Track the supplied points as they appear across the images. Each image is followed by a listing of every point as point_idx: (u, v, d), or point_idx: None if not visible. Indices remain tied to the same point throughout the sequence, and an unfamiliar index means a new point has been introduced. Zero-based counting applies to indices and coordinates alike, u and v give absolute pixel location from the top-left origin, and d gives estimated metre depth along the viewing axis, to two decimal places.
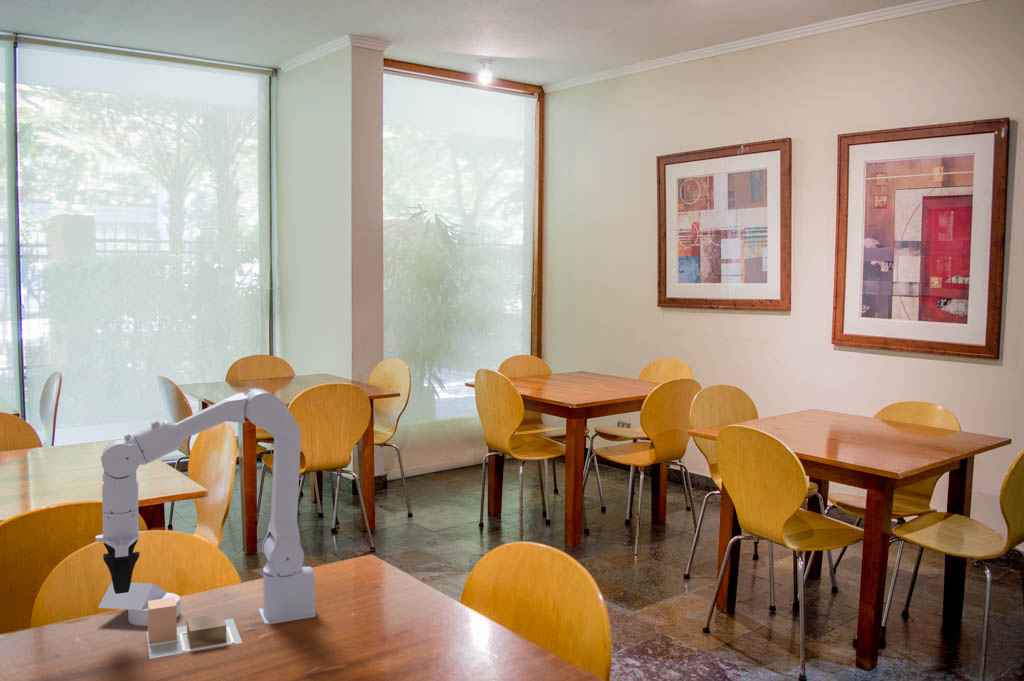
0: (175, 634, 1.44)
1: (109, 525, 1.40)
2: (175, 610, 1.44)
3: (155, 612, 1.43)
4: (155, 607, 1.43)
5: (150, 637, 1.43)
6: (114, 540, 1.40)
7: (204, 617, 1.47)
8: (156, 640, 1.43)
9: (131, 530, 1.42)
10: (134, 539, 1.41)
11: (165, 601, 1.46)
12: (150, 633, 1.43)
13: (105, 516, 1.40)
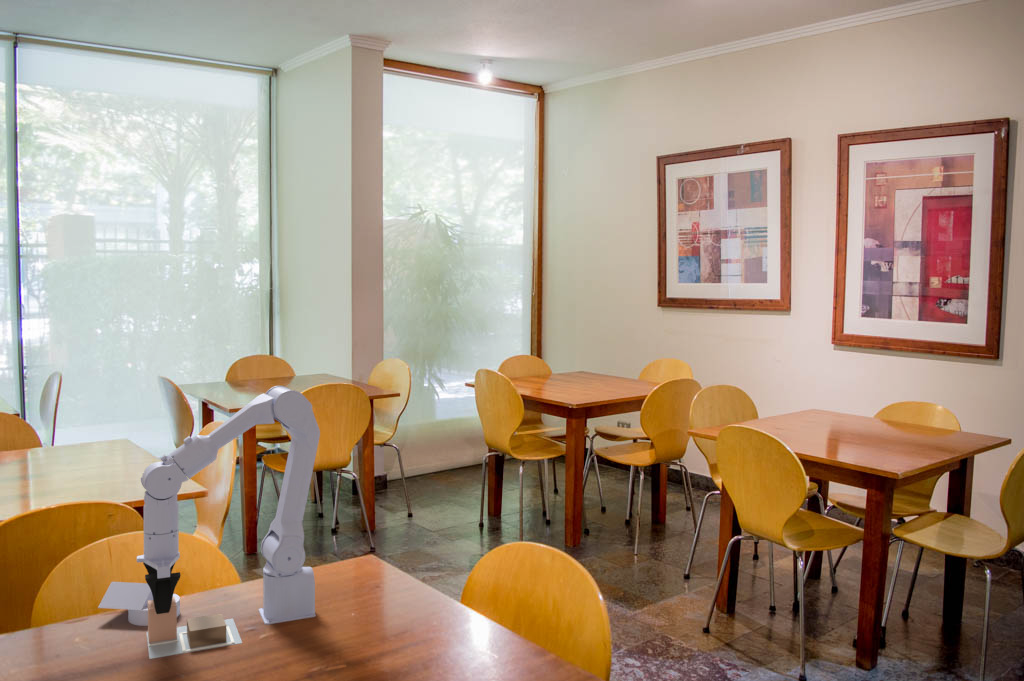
0: (175, 634, 1.44)
1: (150, 546, 1.42)
2: (175, 610, 1.44)
3: (155, 612, 1.43)
4: None
5: (150, 637, 1.43)
6: (155, 561, 1.42)
7: (204, 617, 1.47)
8: (156, 640, 1.43)
9: (172, 551, 1.43)
10: (175, 560, 1.43)
11: None
12: (150, 633, 1.43)
13: (146, 537, 1.42)
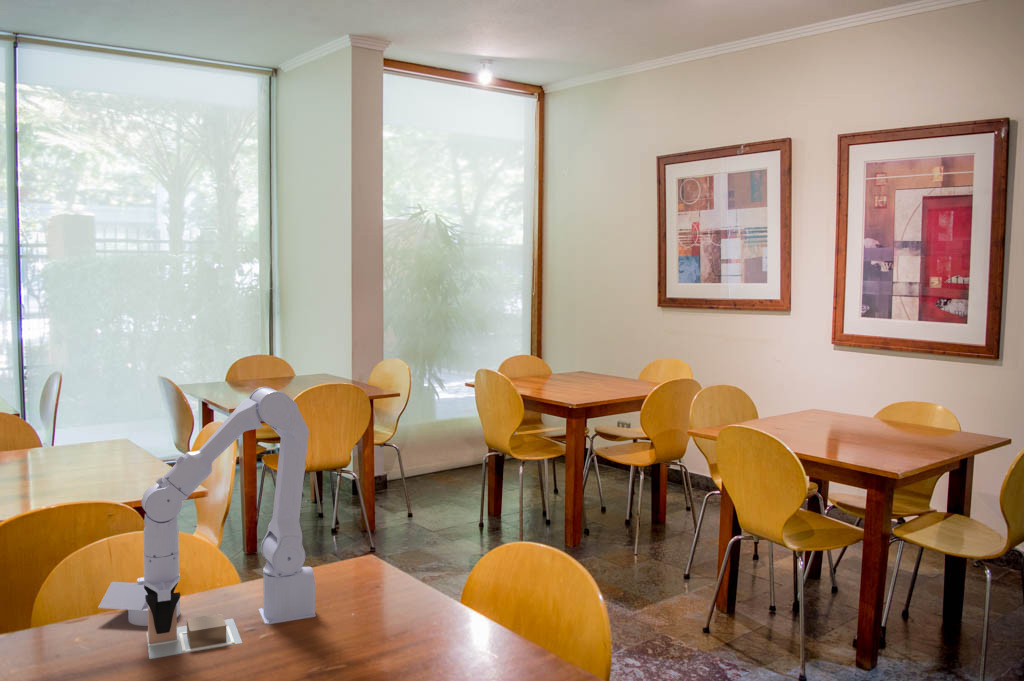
0: (175, 634, 1.44)
1: (150, 569, 1.42)
2: (175, 610, 1.44)
3: None
4: None
5: (150, 637, 1.43)
6: (156, 583, 1.42)
7: (204, 617, 1.47)
8: (156, 640, 1.43)
9: (172, 573, 1.44)
10: (175, 582, 1.43)
11: None
12: (150, 633, 1.43)
13: (147, 560, 1.42)
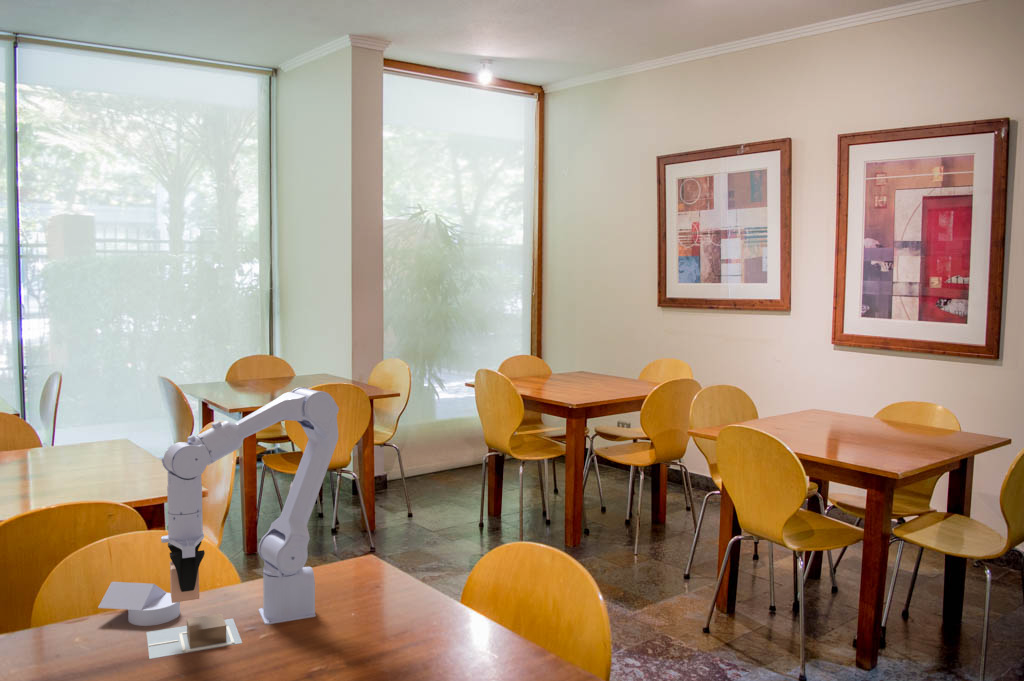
0: (198, 594, 1.43)
1: (174, 526, 1.41)
2: None
3: None
4: None
5: (173, 597, 1.42)
6: (180, 541, 1.41)
7: (204, 617, 1.47)
8: (179, 600, 1.42)
9: (196, 531, 1.43)
10: (199, 540, 1.42)
11: None
12: (173, 593, 1.42)
13: (171, 517, 1.42)
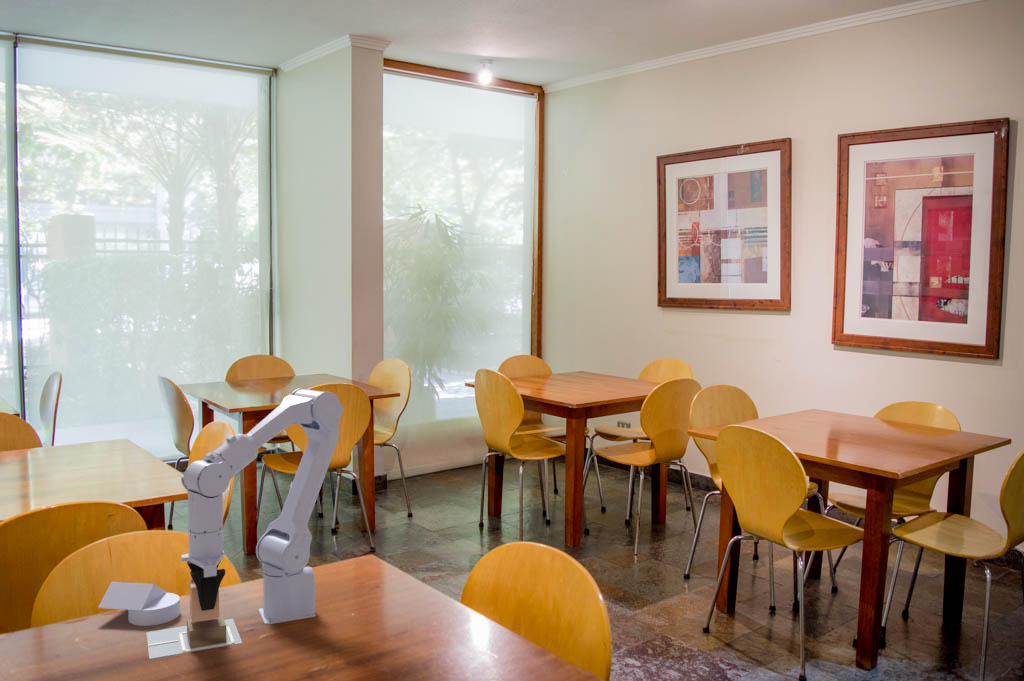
0: (217, 613, 1.43)
1: (195, 545, 1.41)
2: None
3: None
4: None
5: (193, 616, 1.41)
6: (201, 560, 1.41)
7: None
8: (199, 619, 1.42)
9: (217, 549, 1.42)
10: (220, 558, 1.42)
11: None
12: (193, 612, 1.41)
13: (192, 536, 1.41)
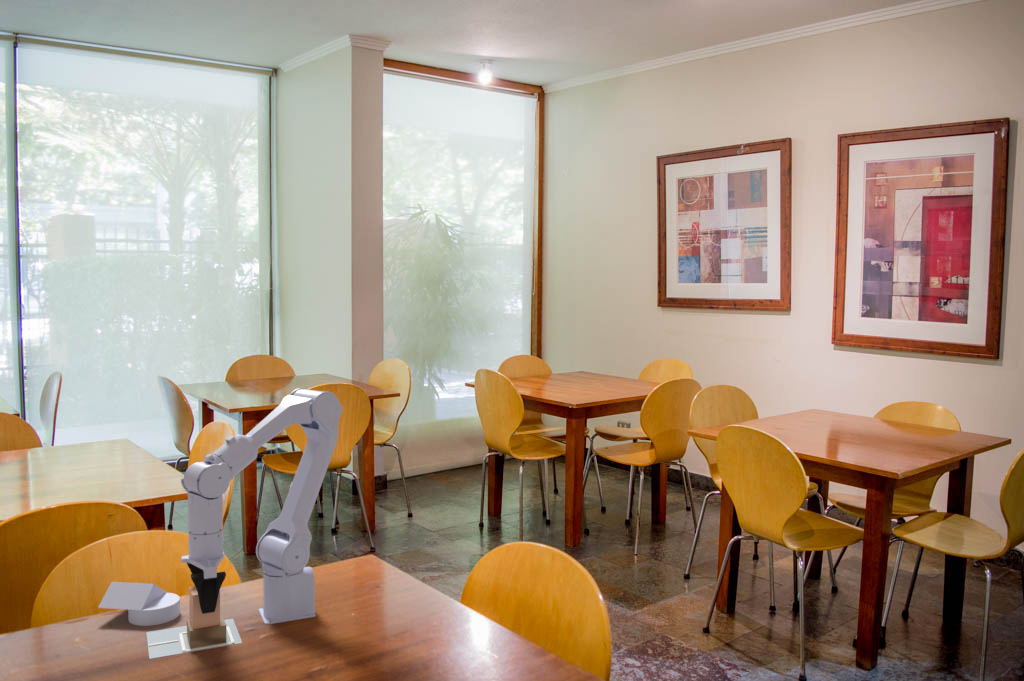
0: (218, 620, 1.43)
1: (195, 546, 1.41)
2: (218, 596, 1.43)
3: None
4: None
5: (194, 623, 1.41)
6: (201, 561, 1.41)
7: None
8: (200, 626, 1.42)
9: (217, 551, 1.42)
10: (220, 560, 1.42)
11: None
12: (194, 619, 1.41)
13: (192, 537, 1.41)
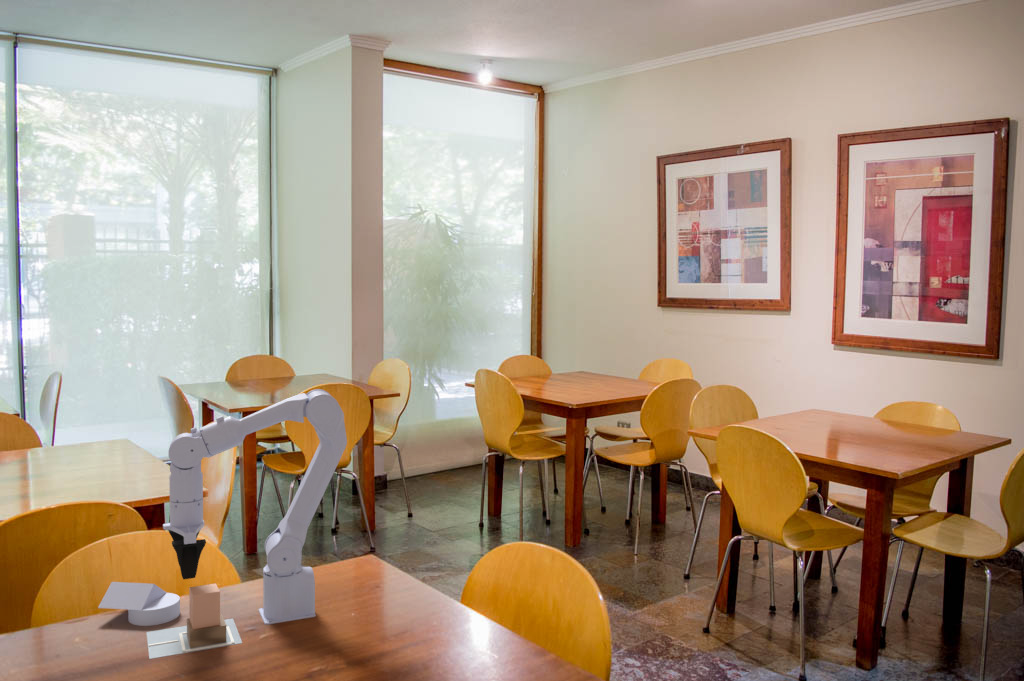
0: (218, 620, 1.43)
1: (176, 514, 1.47)
2: (218, 596, 1.43)
3: (199, 598, 1.42)
4: (199, 593, 1.42)
5: (194, 623, 1.41)
6: (181, 528, 1.47)
7: None
8: (200, 626, 1.42)
9: (197, 519, 1.48)
10: (200, 527, 1.48)
11: (207, 587, 1.45)
12: (194, 619, 1.41)
13: (173, 505, 1.47)
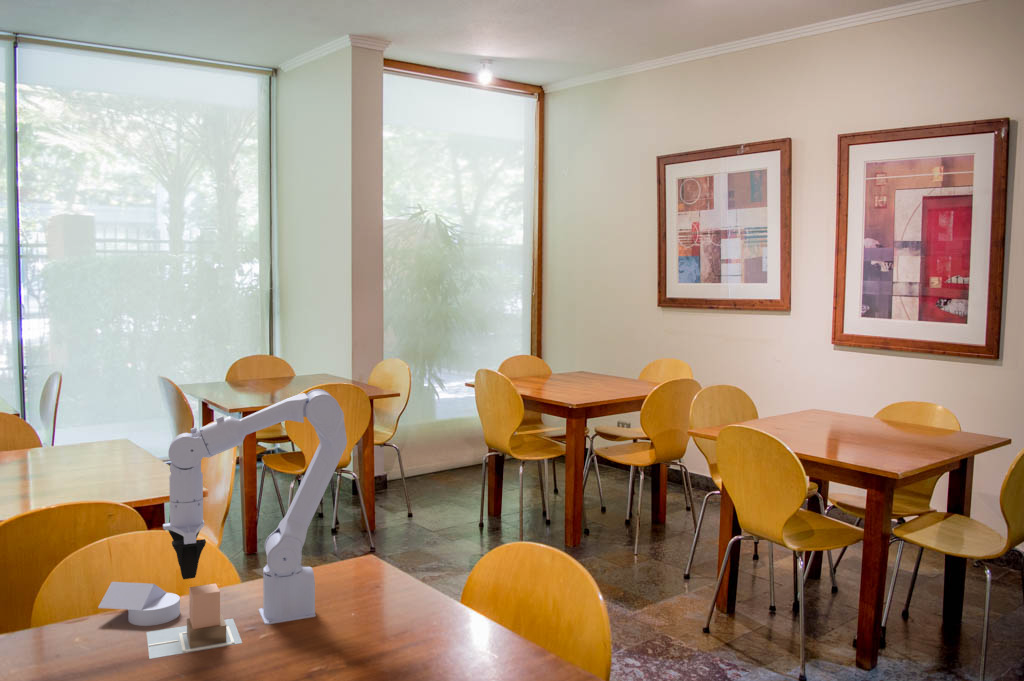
0: (218, 620, 1.43)
1: (176, 514, 1.47)
2: (218, 596, 1.43)
3: (199, 598, 1.42)
4: (199, 593, 1.42)
5: (194, 623, 1.41)
6: (181, 528, 1.47)
7: None
8: (200, 626, 1.42)
9: (197, 519, 1.48)
10: (200, 527, 1.48)
11: (207, 587, 1.45)
12: (194, 619, 1.41)
13: (173, 505, 1.47)
